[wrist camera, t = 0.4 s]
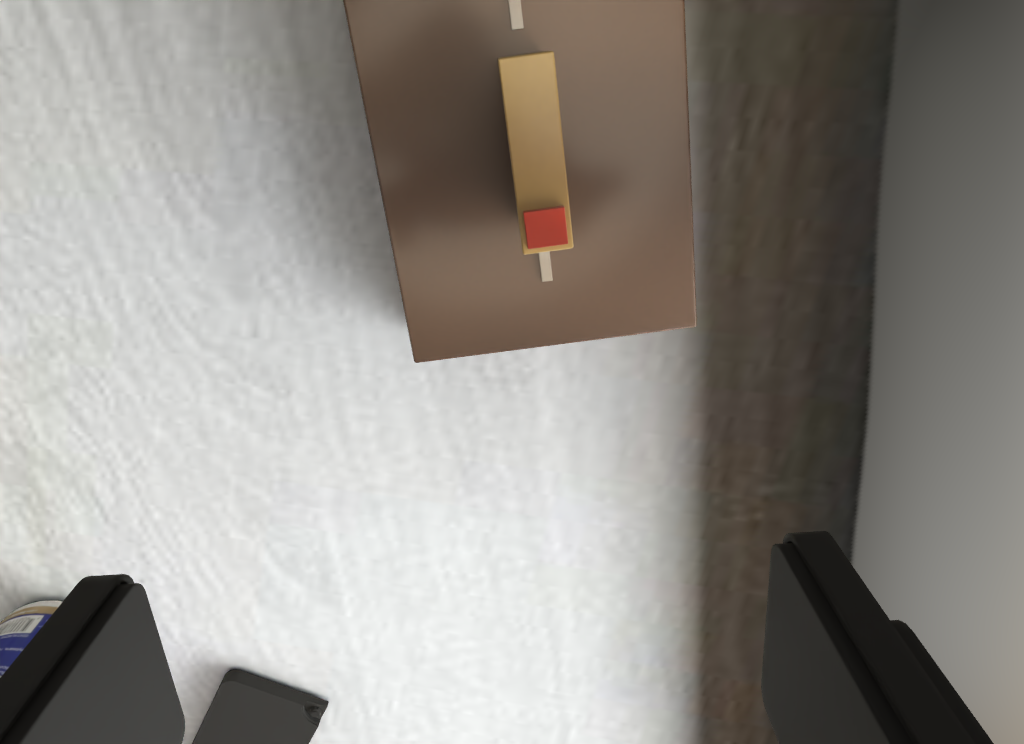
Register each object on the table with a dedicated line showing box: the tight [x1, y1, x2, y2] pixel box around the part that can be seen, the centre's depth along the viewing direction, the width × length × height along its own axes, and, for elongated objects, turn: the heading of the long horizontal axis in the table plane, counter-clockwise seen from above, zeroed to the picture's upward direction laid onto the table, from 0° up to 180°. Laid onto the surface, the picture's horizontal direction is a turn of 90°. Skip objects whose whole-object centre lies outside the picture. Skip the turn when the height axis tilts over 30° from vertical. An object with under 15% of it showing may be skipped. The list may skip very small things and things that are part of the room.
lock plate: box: [343, 0, 697, 363], centre depth 25 cm, size 14×10×3 cm
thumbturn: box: [498, 51, 574, 255], centre depth 22 cm, size 5×1×5 cm, turn 7°
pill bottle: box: [0, 601, 63, 677], centre depth 30 cm, size 6×6×10 cm
